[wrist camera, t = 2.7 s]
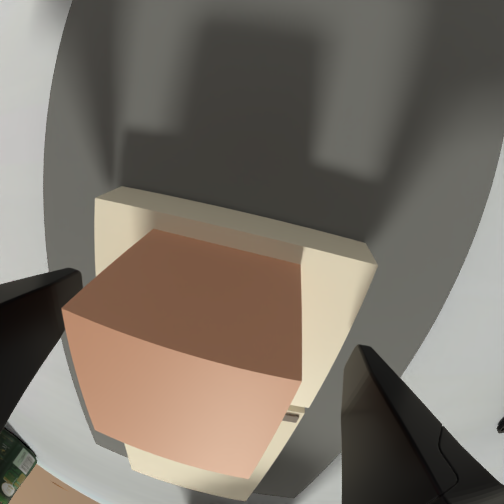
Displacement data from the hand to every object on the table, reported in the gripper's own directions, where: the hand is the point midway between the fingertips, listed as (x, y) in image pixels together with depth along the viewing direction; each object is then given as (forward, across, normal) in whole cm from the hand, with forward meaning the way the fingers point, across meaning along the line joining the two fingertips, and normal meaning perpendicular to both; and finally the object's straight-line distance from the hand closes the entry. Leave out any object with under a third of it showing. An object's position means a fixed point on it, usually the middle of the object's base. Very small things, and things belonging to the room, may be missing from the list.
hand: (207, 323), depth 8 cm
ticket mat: (+3, 0, +2) cm, 4 cm away
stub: (+3, 0, 0) cm, 3 cm away
